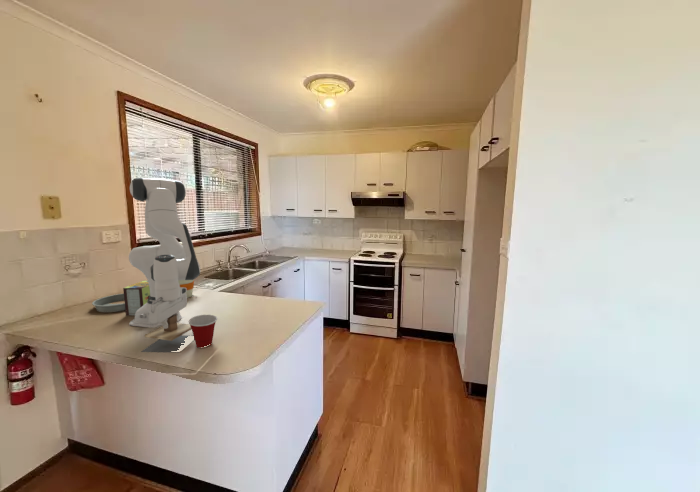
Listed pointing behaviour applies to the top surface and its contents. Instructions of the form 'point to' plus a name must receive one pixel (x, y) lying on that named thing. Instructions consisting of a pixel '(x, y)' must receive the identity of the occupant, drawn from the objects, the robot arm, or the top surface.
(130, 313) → the protein box
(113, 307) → the cake pan
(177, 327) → the lid
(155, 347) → the mat
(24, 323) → the top surface
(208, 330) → the plastic cup
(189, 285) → the reusable coffee cup
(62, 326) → the top surface
